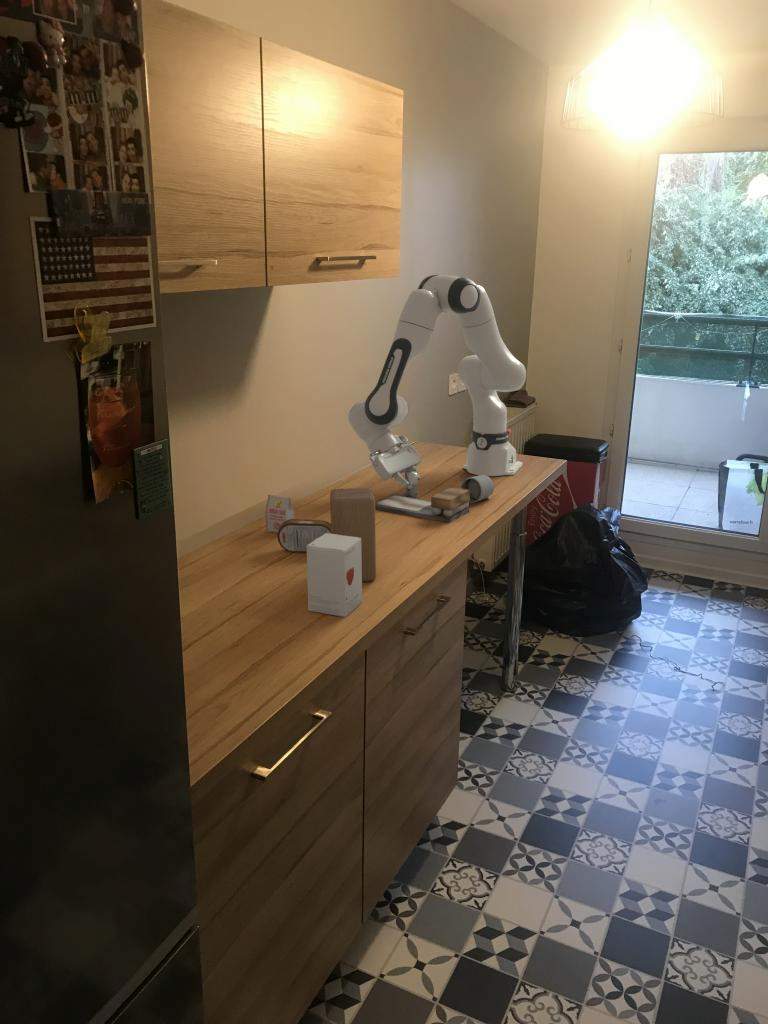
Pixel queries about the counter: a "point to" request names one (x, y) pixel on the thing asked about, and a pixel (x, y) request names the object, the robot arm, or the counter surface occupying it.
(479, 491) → the ceramic mug
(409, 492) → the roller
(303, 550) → the tin
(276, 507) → the tea bag
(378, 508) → the grey board with block
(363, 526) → the wooden block
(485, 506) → the counter surface
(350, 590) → the supplement box
